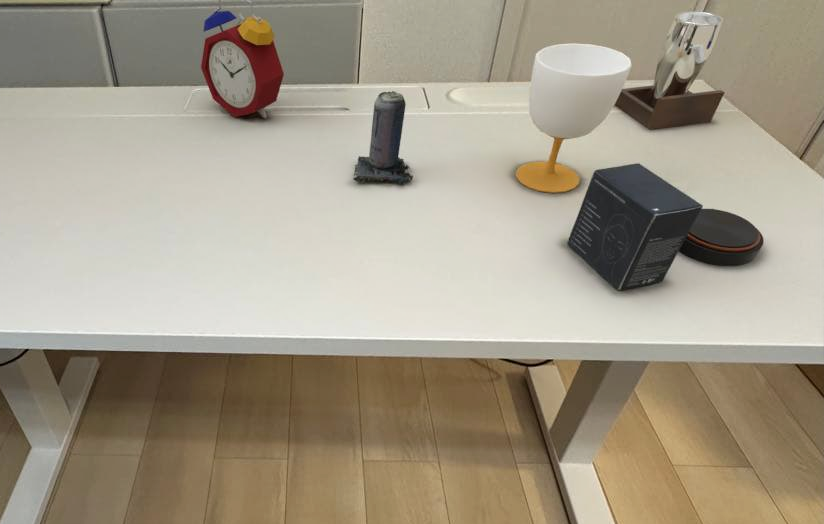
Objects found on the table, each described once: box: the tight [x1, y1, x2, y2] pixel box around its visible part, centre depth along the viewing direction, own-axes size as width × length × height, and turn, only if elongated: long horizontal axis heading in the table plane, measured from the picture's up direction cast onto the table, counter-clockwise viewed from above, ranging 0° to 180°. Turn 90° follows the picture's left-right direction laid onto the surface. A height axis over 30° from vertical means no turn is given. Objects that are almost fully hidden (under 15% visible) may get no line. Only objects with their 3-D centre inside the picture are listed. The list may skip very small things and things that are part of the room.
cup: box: [515, 42, 633, 194], centre depth 82 cm, size 12×12×17 cm
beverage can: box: [353, 90, 414, 185], centre depth 87 cm, size 9×8×12 cm
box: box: [566, 162, 704, 291], centre depth 70 cm, size 11×7×10 cm, turn 15°
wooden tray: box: [614, 84, 725, 130], centre depth 100 cm, size 11×11×5 cm
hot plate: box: [678, 208, 765, 267], centre depth 74 cm, size 10×10×2 cm
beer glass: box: [644, 10, 724, 109], centre depth 97 cm, size 7×7×15 cm
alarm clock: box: [200, 0, 285, 119], centre depth 103 cm, size 15×9×20 cm, turn 50°
